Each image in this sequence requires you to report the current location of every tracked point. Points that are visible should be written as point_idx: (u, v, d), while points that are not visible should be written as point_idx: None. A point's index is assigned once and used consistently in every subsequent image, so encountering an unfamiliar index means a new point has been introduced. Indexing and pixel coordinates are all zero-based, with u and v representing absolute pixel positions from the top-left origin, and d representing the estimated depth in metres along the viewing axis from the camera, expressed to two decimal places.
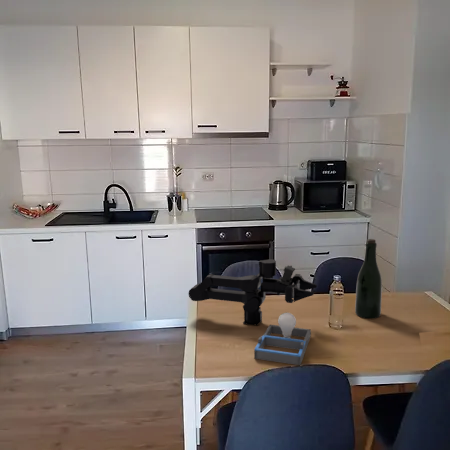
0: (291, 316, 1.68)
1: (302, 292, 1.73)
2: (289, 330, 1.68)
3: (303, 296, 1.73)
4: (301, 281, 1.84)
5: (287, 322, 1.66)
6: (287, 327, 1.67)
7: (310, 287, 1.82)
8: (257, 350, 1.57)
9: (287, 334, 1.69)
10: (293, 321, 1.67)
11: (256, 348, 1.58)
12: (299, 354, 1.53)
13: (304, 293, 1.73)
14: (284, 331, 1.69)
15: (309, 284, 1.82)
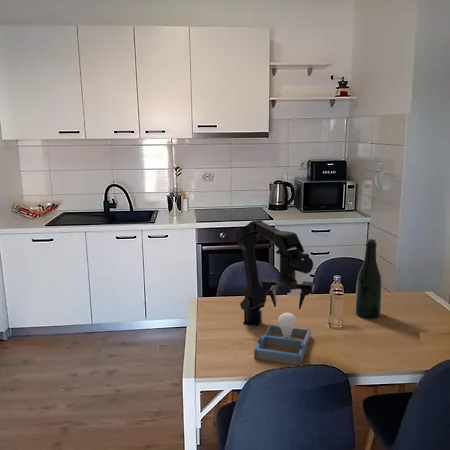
0: (291, 316, 1.68)
1: None
2: (289, 330, 1.68)
3: None
4: None
5: (287, 322, 1.66)
6: (287, 327, 1.67)
7: None
8: (257, 350, 1.57)
9: (287, 334, 1.69)
10: (293, 321, 1.67)
11: (256, 348, 1.58)
12: (299, 354, 1.53)
13: None
14: (284, 331, 1.69)
15: (299, 302, 1.66)
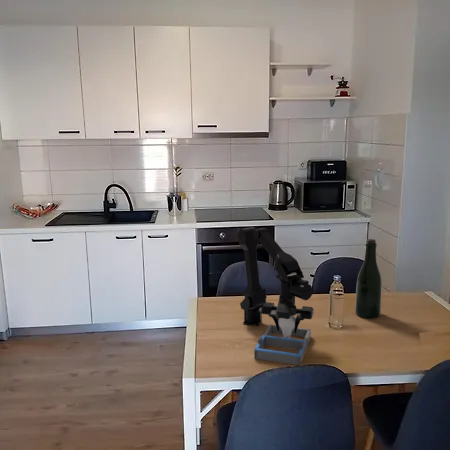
0: (291, 316, 1.68)
1: None
2: (289, 330, 1.68)
3: None
4: (296, 318, 1.67)
5: (287, 322, 1.66)
6: (287, 327, 1.67)
7: None
8: (257, 350, 1.57)
9: (287, 334, 1.69)
10: (293, 321, 1.67)
11: (256, 348, 1.58)
12: (299, 354, 1.53)
13: None
14: (284, 331, 1.69)
15: (295, 326, 1.69)
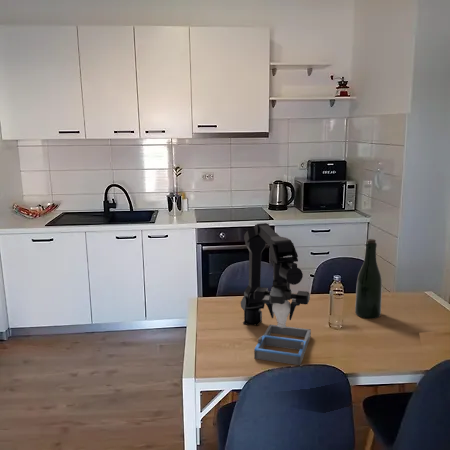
0: (286, 301, 1.56)
1: None
2: (284, 317, 1.56)
3: None
4: None
5: (281, 308, 1.55)
6: (281, 313, 1.55)
7: None
8: (257, 350, 1.57)
9: (282, 321, 1.57)
10: (288, 306, 1.55)
11: (256, 348, 1.58)
12: (299, 354, 1.53)
13: None
14: (278, 318, 1.57)
15: (290, 312, 1.57)
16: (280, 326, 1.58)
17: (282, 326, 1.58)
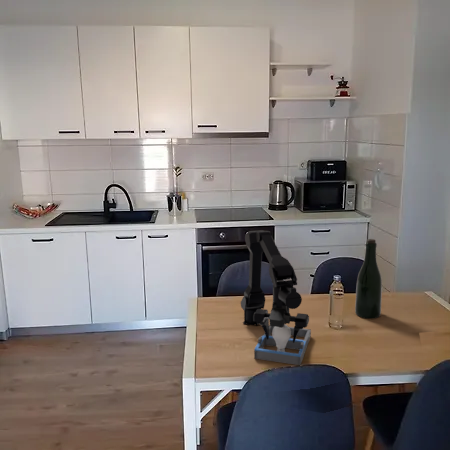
0: (286, 327, 1.58)
1: None
2: (283, 342, 1.58)
3: None
4: None
5: (281, 334, 1.56)
6: (281, 339, 1.57)
7: None
8: (257, 350, 1.57)
9: (281, 347, 1.59)
10: (288, 333, 1.57)
11: (256, 348, 1.58)
12: (299, 354, 1.53)
13: None
14: (278, 343, 1.59)
15: (293, 335, 1.58)
16: None
17: None
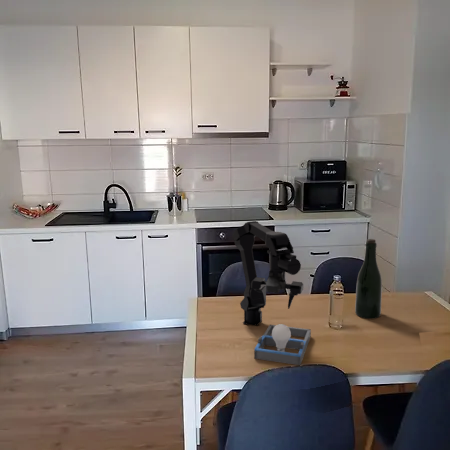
0: (285, 328, 1.57)
1: None
2: (283, 343, 1.58)
3: None
4: None
5: (280, 335, 1.56)
6: (280, 340, 1.57)
7: None
8: (257, 350, 1.57)
9: (281, 347, 1.59)
10: (287, 333, 1.57)
11: (256, 348, 1.58)
12: (299, 354, 1.53)
13: None
14: (278, 344, 1.58)
15: None
16: None
17: None
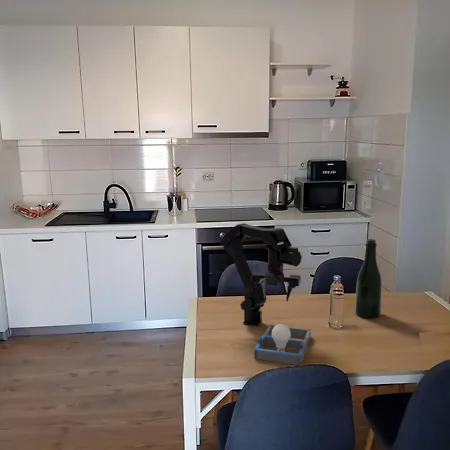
0: (285, 328, 1.57)
1: None
2: (283, 343, 1.58)
3: None
4: None
5: (280, 335, 1.56)
6: (280, 340, 1.56)
7: None
8: (257, 350, 1.57)
9: (281, 347, 1.59)
10: (287, 333, 1.57)
11: (256, 348, 1.58)
12: (299, 354, 1.53)
13: None
14: (278, 344, 1.58)
15: None
16: None
17: None
